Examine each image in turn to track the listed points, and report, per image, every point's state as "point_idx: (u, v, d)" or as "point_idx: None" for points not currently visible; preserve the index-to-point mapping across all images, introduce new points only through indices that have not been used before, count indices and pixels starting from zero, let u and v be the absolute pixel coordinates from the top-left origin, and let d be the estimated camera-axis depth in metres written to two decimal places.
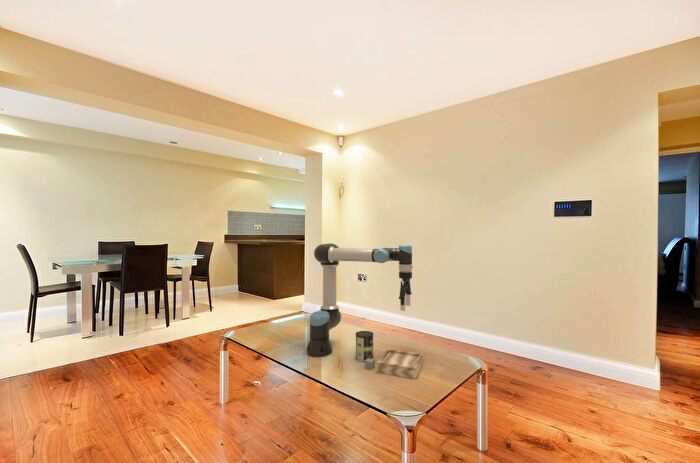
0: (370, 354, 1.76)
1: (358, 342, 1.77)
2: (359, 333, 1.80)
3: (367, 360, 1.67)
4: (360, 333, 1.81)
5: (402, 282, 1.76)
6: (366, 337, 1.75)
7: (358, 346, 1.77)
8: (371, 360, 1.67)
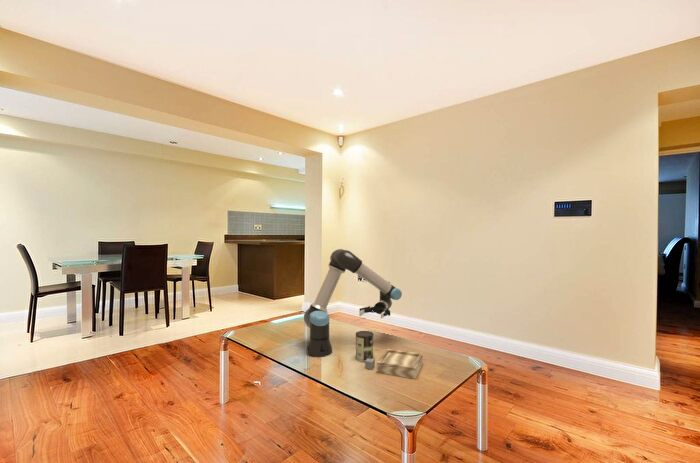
0: (370, 354, 1.76)
1: (358, 342, 1.77)
2: (359, 333, 1.80)
3: (367, 360, 1.67)
4: (360, 333, 1.81)
5: None
6: (366, 337, 1.75)
7: (358, 346, 1.77)
8: (371, 360, 1.67)
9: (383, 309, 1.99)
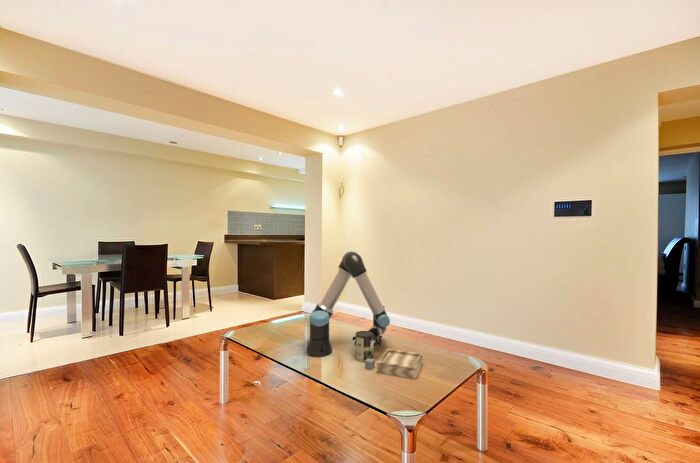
0: (370, 354, 1.76)
1: (358, 342, 1.77)
2: (359, 333, 1.80)
3: (367, 360, 1.67)
4: (360, 333, 1.81)
5: (381, 338, 1.88)
6: (366, 337, 1.75)
7: (358, 346, 1.77)
8: (371, 360, 1.67)
9: (375, 337, 1.86)
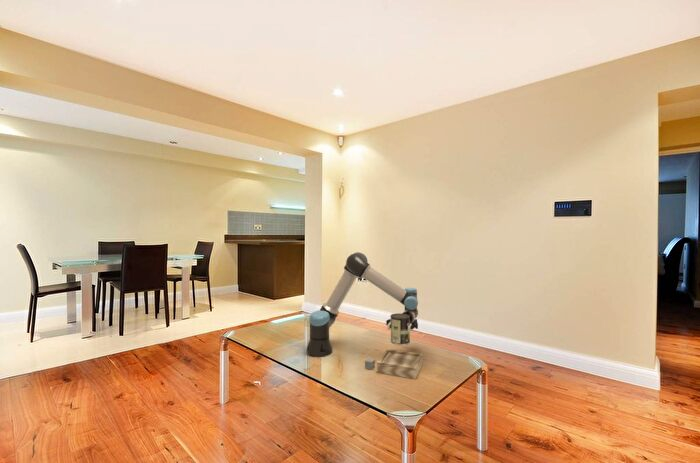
0: (407, 338, 1.63)
1: (394, 325, 1.64)
2: (395, 316, 1.67)
3: (367, 360, 1.67)
4: (395, 315, 1.68)
5: None
6: (403, 320, 1.63)
7: (394, 329, 1.64)
8: (371, 360, 1.67)
9: (410, 321, 1.73)
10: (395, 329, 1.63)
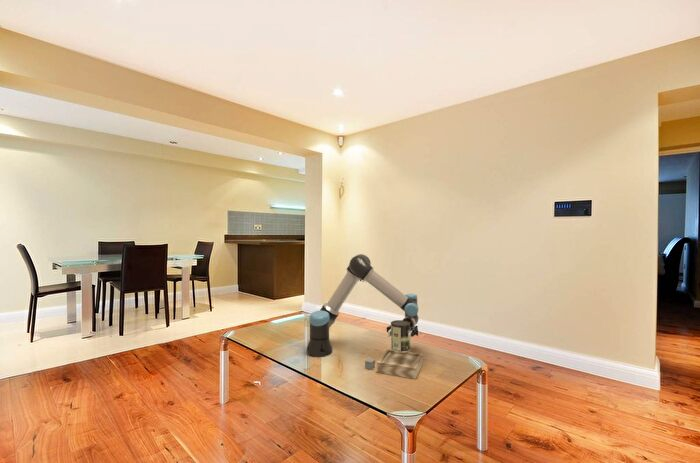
0: (407, 345, 1.63)
1: (394, 332, 1.64)
2: (395, 323, 1.67)
3: (367, 360, 1.67)
4: (396, 322, 1.68)
5: (417, 328, 1.75)
6: (404, 327, 1.62)
7: (394, 336, 1.64)
8: (371, 360, 1.67)
9: (411, 327, 1.73)
10: (395, 336, 1.63)
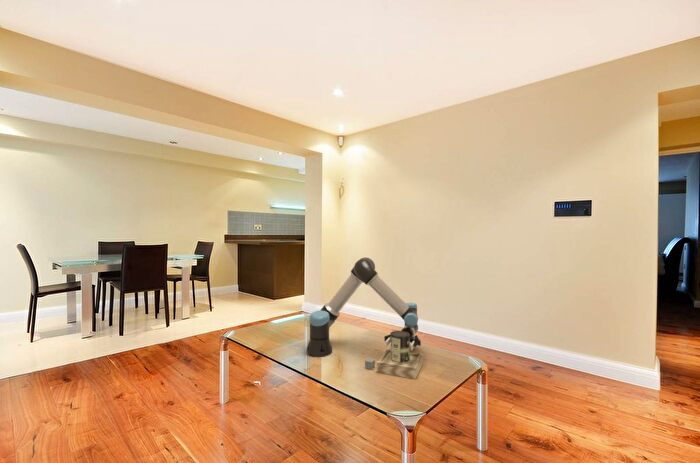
0: (407, 356, 1.63)
1: (394, 343, 1.64)
2: (395, 333, 1.67)
3: (367, 360, 1.67)
4: (395, 333, 1.68)
5: None
6: (403, 338, 1.62)
7: (394, 347, 1.64)
8: (371, 360, 1.67)
9: (412, 337, 1.73)
10: (395, 347, 1.63)
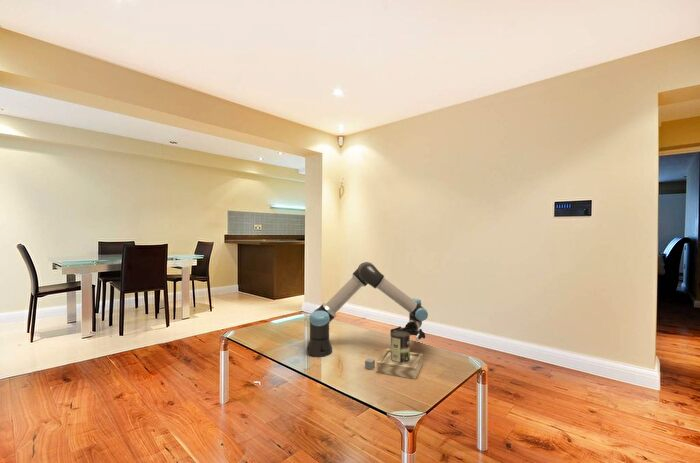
0: (407, 356, 1.63)
1: (394, 343, 1.64)
2: (395, 333, 1.67)
3: (367, 360, 1.67)
4: (395, 333, 1.68)
5: None
6: (403, 338, 1.62)
7: (394, 347, 1.64)
8: (371, 360, 1.67)
9: (416, 331, 1.85)
10: (395, 347, 1.63)
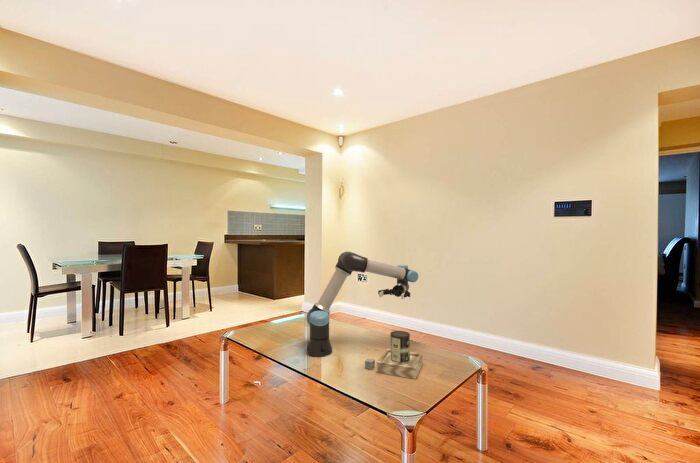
0: (407, 356, 1.63)
1: (394, 343, 1.64)
2: (395, 333, 1.67)
3: (367, 360, 1.67)
4: (395, 333, 1.68)
5: None
6: (403, 338, 1.62)
7: (394, 347, 1.64)
8: (371, 360, 1.67)
9: (402, 291, 1.96)
10: (395, 347, 1.63)
